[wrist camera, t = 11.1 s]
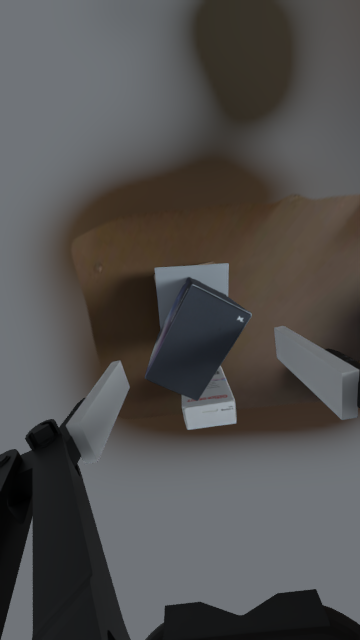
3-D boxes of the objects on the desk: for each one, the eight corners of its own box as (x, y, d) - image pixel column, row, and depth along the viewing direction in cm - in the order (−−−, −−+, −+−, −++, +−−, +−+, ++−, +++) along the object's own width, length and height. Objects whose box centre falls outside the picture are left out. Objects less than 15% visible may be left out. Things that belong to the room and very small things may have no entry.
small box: (185, 273, 25) (190, 279, 15) (227, 294, 26) (257, 313, 16) (154, 338, 28) (140, 379, 18) (192, 355, 29) (200, 404, 19)
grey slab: (220, 263, 30) (228, 263, 25) (220, 338, 33) (227, 351, 29) (158, 267, 30) (154, 267, 25) (165, 342, 33) (162, 354, 29)
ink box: (184, 387, 42) (186, 432, 30) (180, 367, 40) (181, 407, 29) (222, 381, 41) (238, 425, 30) (219, 361, 40) (235, 399, 29)
